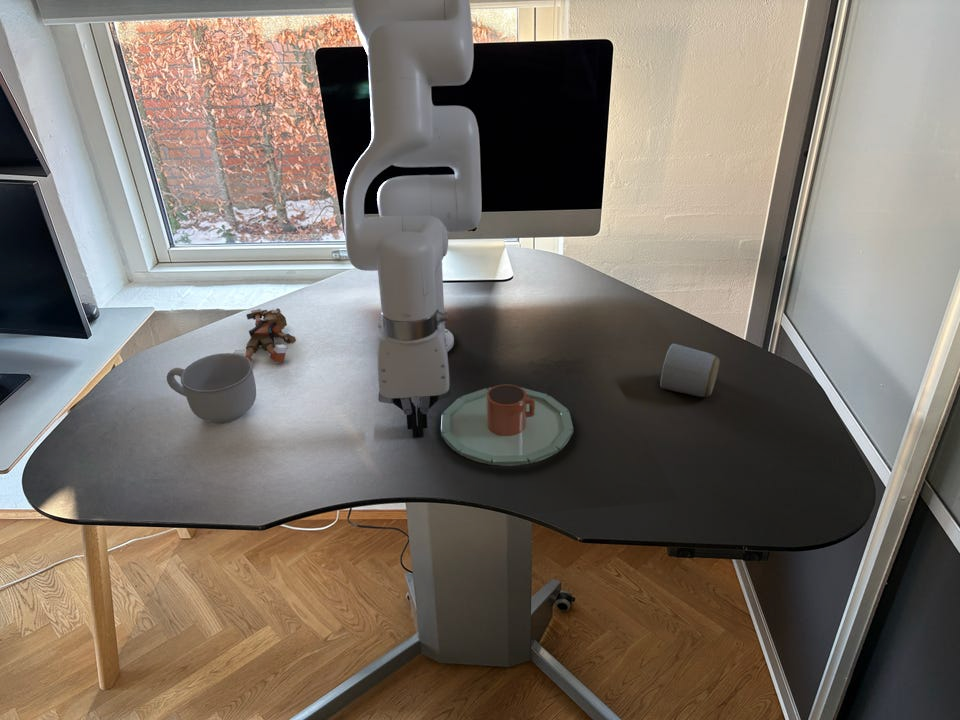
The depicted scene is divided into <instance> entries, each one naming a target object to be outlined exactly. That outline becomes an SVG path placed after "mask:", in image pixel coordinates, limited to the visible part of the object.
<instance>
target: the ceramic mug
mask: <svg viewBox="0 0 960 720" xmlns="http://www.w3.org/2000/svg"><path fill="white" fill-rule="evenodd" d="M719 368H720V358H719V357H718V356H717V355H714V354H712V353H710V352H707V351H702V350H700V349H699V350H698V349H694V348H692V347H688V346H685V345H681V344H677V343H671V344H670V346H669V348H668V350H667V352H666V355H665V358H664V361H663V365H662V370H661V375H660V382H659V387H660V388H661V389H664V390H668V391H672V392H676V393H680V394H687V395H690V396H694V397H699V398H708V397H710V396H711V395H712V394H713V393H712V392H713V390H714V388H715V384H716V380H717V378H718V377H717V376H718V373H719Z"/></svg>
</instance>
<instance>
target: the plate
mask: <svg viewBox="0 0 960 720" xmlns="http://www.w3.org/2000/svg"><path fill="white" fill-rule="evenodd" d="M491 388H492V387H487V388H486V387H485V388H483V389H482V388H481V389H479V390H476V391H473V392H470V393H467V394H464V395H461V396H460V397H458V398H456V399H455V400H454V401H453V402H452V403H451V404H450V405H449V406H447V408H446V409H444V411H443V412H442V413H441V420H440V422H441V423H440V436H441V438H442V439H443V440H444V442H445V443H446V444H447V445H448V447H450V448H451V449H452V451H454V452H456V453H457V455H459V456H461V457H465V458H467V459H469V460H472V461H475V462H478V463H482V464H487V465H489V466H490V465H492V466H509V467H510V466H521V465H529V464H533V463H537V462H540V461H543V460H545V459H547V458H549V457H552V456H553V455H555V454H557V453H559V452H560V451H562V449H563V448H564V447H565V446H566V445H567V444H568V443H569V441H570V439H571V437H572V436H573V435H574V425H573V420H572V416H571V412H570V410H569V409H568V408H567V407H566V406H564V405H563V404H562V403H560V402H559V401H558V400H557V399H555V398H554V397H552V396H551V395H549V394H548V393H543V392H539V391H536V390H533V389H528V388H526V387H521V388H522V389H524V390H525V392H526V394H527V398H532V399H534V400H535V414H534V416H532V417H526V428H525V429H524V430H523V431H522V432H521V433H519V434H516V435H512V436H501V435H497V434H494V433H492V432H491V431H490V430H489V429H488V428H487V405H486V394H487V392H488V390H489V389H491ZM526 412H529V404H527V406H526Z"/></svg>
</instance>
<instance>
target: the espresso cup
mask: <svg viewBox="0 0 960 720" xmlns="http://www.w3.org/2000/svg"><path fill="white" fill-rule="evenodd" d="M490 388H491V389H489V390H488V392H487V394H486V405H487V428H488V429H489V430H490V431H491V432H492V433H494V434H497V435H501V436H512V435H516V434H519V433H521V432H522V431H523V430H524V429H525V428H526V417H532V416H534V414H535V400H534V399H532V398H527V394H526V392H525V390H524V389H522V388H523V387H521V386H519V385H515V384H510V383H509V384H498V385H495V386H493V387H490ZM527 404H529V412H526V406H527Z"/></svg>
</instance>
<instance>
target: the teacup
mask: <svg viewBox="0 0 960 720" xmlns="http://www.w3.org/2000/svg"><path fill="white" fill-rule="evenodd" d="M233 353H234V352H233ZM233 353H232V352H231V353H230V352H223V353H214V354H211V355H207V356H203V357H201V358H198V359H197V360H195V361H193V362H191V364H189V365H188V366H187V367H186V368H185V369H184V368H182V367H173V368H171V369H170V370H169V371H168V372H167V374H166V382H167V385H168V387H170V388H171V389H172V390H173V391H174V392H176V393H177V394H179V395H181V396H183V397H185V398H186V400H187V404H188V406H189V408H190V410H191V411H192V413H193V414H194V415H195V416H196V417H198V418H199V419H200V420H201V419H202V420H204V421H206V422H207V421H208V422H212V423H228V422H232V421H235V420H237V419H239V418H240V417H242V416H243V415H245V414H246V413H247V412H248V411H249V410H250V409H251V408H252V407H253V405H254V403H255V401H256V398H257V385H256V380H255V379H256V378H255V374H254V369H253V368H254V366H253V362H252V361H250V360H249V359H248V358H246V357H244V356H242V355H239V354H233ZM175 376H177V377H180V383H181V384H180V383H179V382H178V381H177V380H176V378H175Z"/></svg>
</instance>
